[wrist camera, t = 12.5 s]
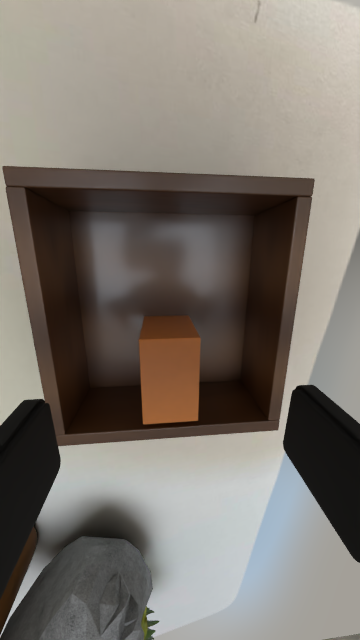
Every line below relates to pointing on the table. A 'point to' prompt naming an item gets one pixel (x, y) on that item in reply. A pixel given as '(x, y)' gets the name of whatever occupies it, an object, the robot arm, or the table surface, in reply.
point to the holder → (158, 290)
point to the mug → (17, 578)
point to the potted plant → (87, 595)
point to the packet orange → (169, 369)
